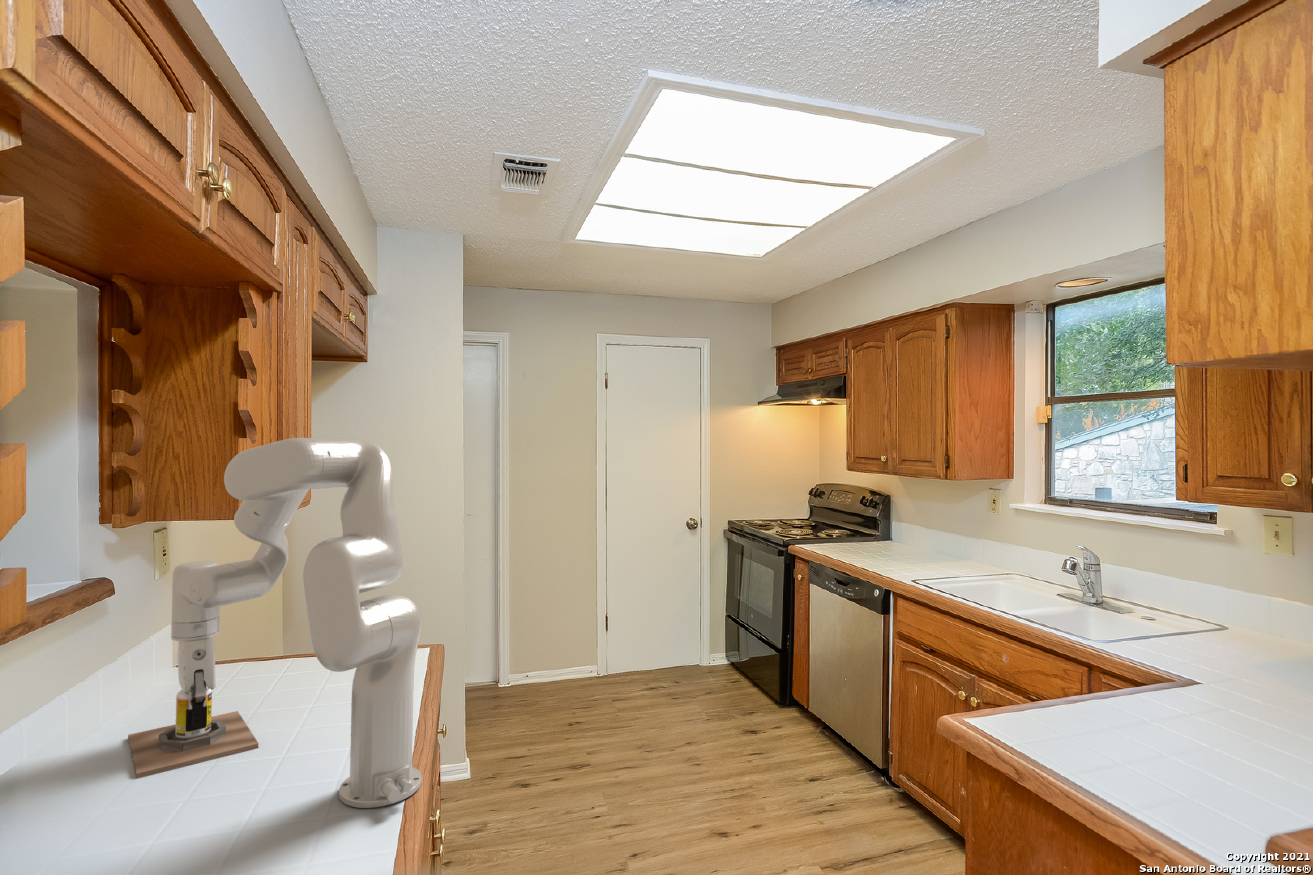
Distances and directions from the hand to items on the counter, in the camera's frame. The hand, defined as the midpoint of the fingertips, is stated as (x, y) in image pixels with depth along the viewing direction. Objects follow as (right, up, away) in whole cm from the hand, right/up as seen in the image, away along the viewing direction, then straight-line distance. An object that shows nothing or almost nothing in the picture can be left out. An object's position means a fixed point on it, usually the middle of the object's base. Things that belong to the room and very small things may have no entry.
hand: (193, 722), depth 126 cm
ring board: (0, -4, 0) cm, 4 cm away
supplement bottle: (0, -2, 0) cm, 2 cm away
